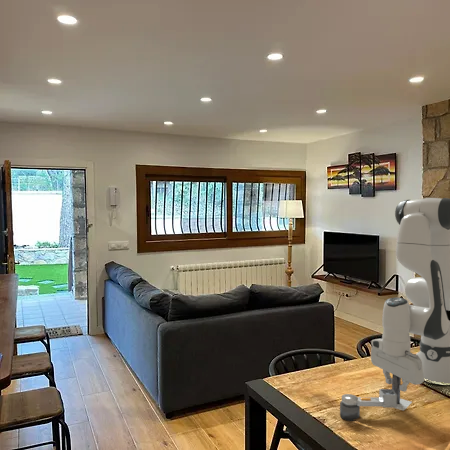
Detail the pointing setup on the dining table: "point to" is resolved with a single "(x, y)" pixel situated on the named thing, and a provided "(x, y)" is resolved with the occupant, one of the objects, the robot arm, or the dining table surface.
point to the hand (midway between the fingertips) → (395, 386)
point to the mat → (403, 404)
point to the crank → (372, 399)
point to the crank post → (349, 412)
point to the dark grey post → (396, 386)
